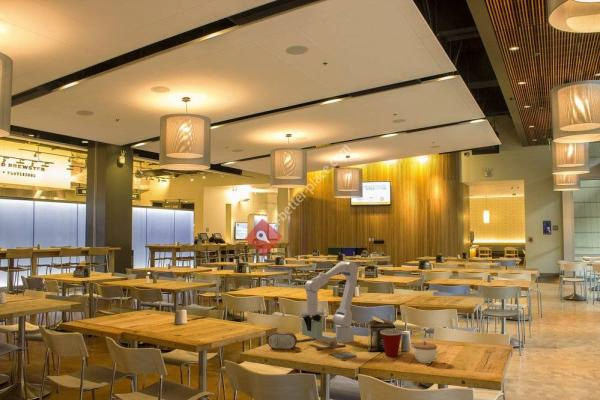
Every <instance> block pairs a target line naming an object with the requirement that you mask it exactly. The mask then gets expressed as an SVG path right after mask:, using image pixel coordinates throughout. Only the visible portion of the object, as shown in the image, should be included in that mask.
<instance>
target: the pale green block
mask: <svg viewBox="0 0 600 400" xmlns="http://www.w3.org/2000/svg"><path fill="white" fill-rule="evenodd" d="M301 321H302V322H301V335H303V336H306V337H309V338H315V339H321V338H322V334H323V322H321V321H319V322H318V321H314V320H313V319H312V321H311V331H308V330H307V326H306V323H305V321H304V319H303V318H302V319H301Z"/></svg>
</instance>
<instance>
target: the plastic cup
mask: <svg viewBox="0 0 600 400" xmlns="http://www.w3.org/2000/svg"><path fill="white" fill-rule="evenodd" d="M379 333H380V334H381V339H382V344H383V349H384V355H385V356H386V357H387V356H388V357H387V358H398V356H399V350H400V345H401V343H400V342H401V338H402V334H403V330H402V329H397V328H387V329H381V330H380V331H379Z"/></svg>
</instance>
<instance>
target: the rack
mask: <svg viewBox="0 0 600 400" xmlns="http://www.w3.org/2000/svg"><path fill="white" fill-rule="evenodd" d="M309 341H310V342H312V343H316V344H318V345H321V346H323V347H316V351H323V350H330V349H338V348H339V349H340V348H345V347H346V346H347V345H346V344H347V343H343V344H340V343H339V344H338V343H337V345H334V346H328V345H324V344H321V343H318V342H316V339H315V338H312V337H309V338H305V339H304V338H302V339H297V343H303V342H309Z"/></svg>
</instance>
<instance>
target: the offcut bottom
mask: <svg viewBox="0 0 600 400" xmlns="http://www.w3.org/2000/svg"><path fill="white" fill-rule="evenodd" d="M315 341H316V342H318V343H321V344H324V345H328V346H334V345H337V344H338V342H337V341H333V342H330V341H326V340H322V339H316V340H315ZM318 343H317V344H318ZM321 344H320V345H321ZM324 345H323V346H324Z"/></svg>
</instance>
